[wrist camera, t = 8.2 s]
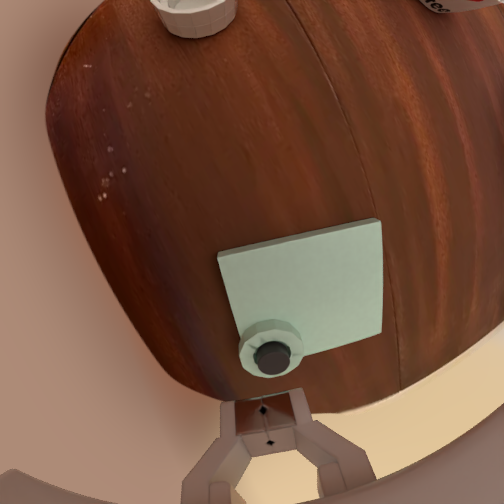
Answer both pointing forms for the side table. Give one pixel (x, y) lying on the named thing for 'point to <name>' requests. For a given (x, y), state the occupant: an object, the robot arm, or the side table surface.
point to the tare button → (272, 358)
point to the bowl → (195, 16)
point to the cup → (458, 5)
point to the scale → (306, 290)
